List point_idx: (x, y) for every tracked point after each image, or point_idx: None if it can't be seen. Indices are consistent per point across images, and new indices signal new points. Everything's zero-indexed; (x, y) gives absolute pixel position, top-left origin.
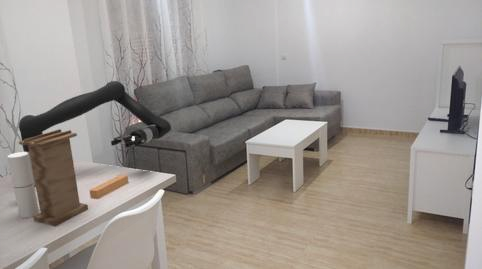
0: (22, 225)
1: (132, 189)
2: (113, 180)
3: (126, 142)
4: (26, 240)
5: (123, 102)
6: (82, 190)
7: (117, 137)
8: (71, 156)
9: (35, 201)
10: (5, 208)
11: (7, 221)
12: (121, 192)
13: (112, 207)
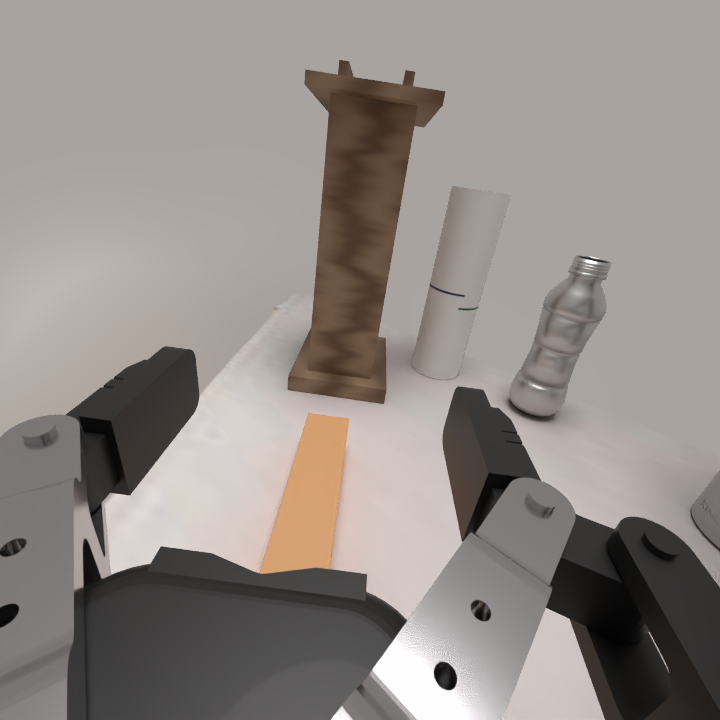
0: (389, 340)
1: None
2: (303, 525)
3: (175, 357)
4: None
5: None
6: (451, 500)
7: (701, 620)
8: (323, 187)
9: (421, 337)
10: None
11: None
12: (220, 511)
13: (202, 401)
